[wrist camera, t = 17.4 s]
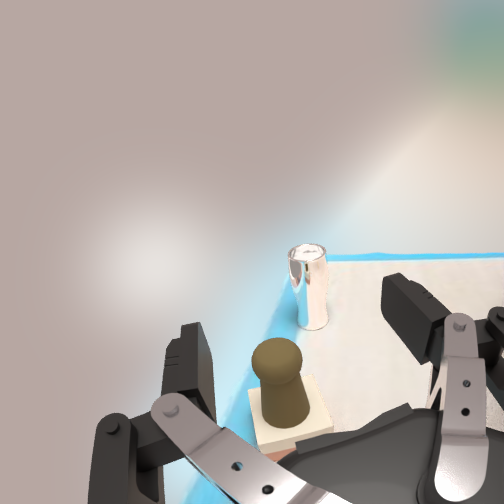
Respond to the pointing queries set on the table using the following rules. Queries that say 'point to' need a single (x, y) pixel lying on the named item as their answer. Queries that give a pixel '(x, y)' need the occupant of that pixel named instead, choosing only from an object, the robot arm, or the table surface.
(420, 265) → the table surface
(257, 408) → the brick base
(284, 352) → the cork
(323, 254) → the beer glass
